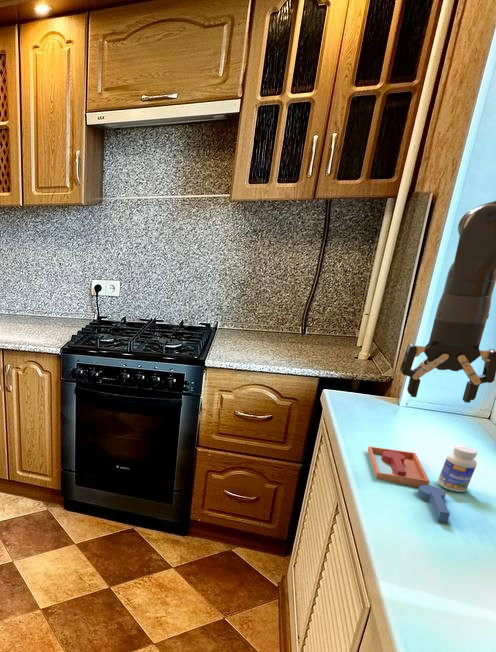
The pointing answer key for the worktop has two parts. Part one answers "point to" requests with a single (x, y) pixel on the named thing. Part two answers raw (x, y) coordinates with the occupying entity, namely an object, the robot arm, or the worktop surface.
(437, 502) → the blue spoon
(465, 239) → the robot arm
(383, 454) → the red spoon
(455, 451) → the pill bottle
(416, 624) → the worktop surface
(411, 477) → the tray
